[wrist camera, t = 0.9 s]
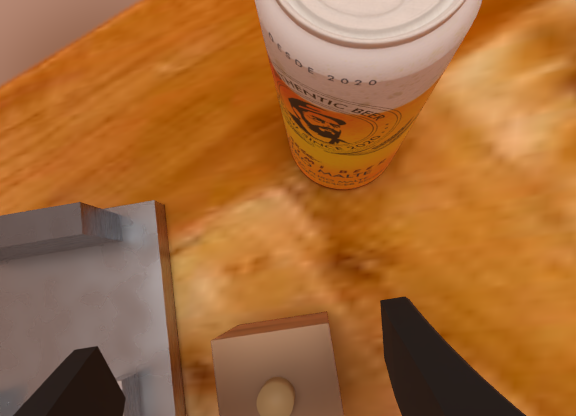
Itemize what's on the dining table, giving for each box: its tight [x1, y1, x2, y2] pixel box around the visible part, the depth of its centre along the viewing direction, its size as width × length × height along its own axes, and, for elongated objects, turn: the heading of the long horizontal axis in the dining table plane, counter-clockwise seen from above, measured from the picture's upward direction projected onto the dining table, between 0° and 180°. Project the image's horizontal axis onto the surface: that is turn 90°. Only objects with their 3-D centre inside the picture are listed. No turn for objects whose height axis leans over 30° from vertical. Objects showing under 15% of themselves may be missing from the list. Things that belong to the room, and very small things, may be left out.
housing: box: [211, 312, 344, 416], centre depth 19 cm, size 5×5×7 cm
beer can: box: [255, 0, 482, 189], centre depth 17 cm, size 6×6×15 cm
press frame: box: [0, 200, 186, 416], centre depth 21 cm, size 19×12×6 cm, turn 9°
